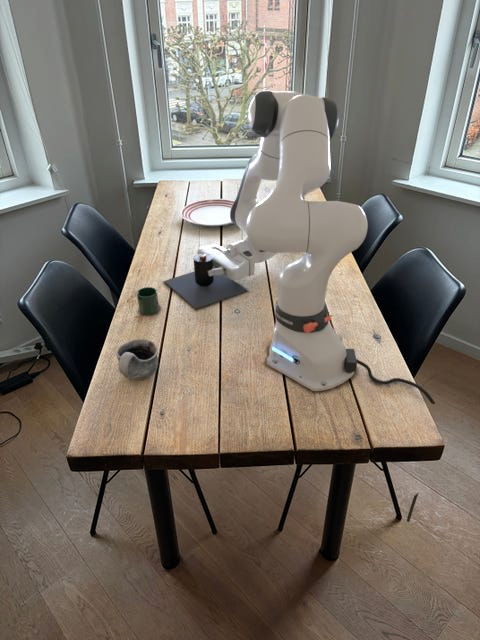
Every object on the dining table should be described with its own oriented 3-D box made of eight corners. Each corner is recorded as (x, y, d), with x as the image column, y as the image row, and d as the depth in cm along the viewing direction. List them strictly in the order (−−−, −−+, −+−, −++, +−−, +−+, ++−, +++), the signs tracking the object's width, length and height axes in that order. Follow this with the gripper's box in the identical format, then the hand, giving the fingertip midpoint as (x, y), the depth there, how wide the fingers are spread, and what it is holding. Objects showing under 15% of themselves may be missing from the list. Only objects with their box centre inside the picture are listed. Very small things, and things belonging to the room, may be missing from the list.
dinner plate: (241, 232, 182) (241, 224, 181) (173, 229, 186) (172, 221, 184) (251, 207, 205) (251, 200, 203) (190, 204, 209) (189, 197, 207)
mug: (164, 361, 117) (159, 328, 112) (155, 396, 107) (149, 361, 101) (125, 361, 118) (119, 328, 112) (112, 395, 107) (105, 361, 102)
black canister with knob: (214, 287, 145) (213, 258, 140) (196, 288, 145) (193, 260, 139) (213, 278, 150) (211, 250, 145) (194, 279, 149) (192, 251, 144)
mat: (246, 291, 145) (246, 289, 145) (196, 310, 137) (196, 308, 136) (212, 267, 159) (212, 265, 159) (164, 282, 151) (164, 281, 150)
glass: (162, 311, 137) (160, 293, 133) (144, 317, 134) (142, 299, 131) (153, 302, 140) (151, 285, 137) (136, 308, 138) (133, 290, 134)
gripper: (218, 236, 156) (182, 248, 149) (257, 258, 142) (220, 272, 135) (219, 254, 159) (184, 265, 153) (257, 276, 146) (220, 291, 139)
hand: (201, 269), depth 144 cm, fingers closed on black canister with knob, 6 cm apart
